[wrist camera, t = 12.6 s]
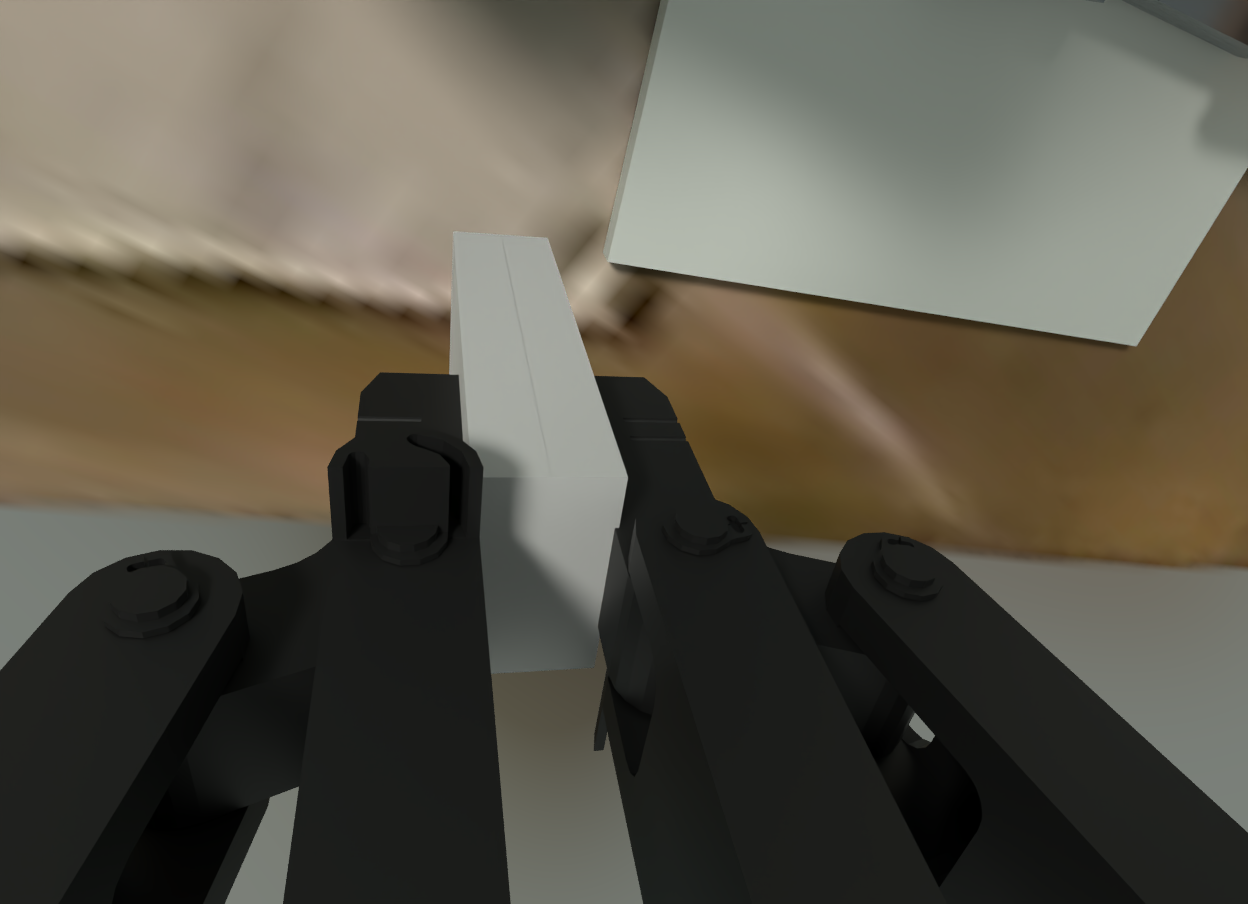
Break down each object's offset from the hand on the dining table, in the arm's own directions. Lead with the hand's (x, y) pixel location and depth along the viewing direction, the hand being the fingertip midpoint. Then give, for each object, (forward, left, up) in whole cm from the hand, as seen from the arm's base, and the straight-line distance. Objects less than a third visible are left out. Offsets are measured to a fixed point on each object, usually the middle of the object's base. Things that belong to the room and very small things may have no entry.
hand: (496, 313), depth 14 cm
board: (-5, +24, -24) cm, 34 cm away
